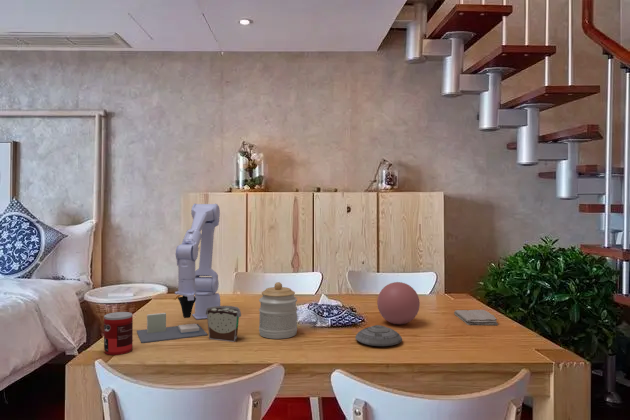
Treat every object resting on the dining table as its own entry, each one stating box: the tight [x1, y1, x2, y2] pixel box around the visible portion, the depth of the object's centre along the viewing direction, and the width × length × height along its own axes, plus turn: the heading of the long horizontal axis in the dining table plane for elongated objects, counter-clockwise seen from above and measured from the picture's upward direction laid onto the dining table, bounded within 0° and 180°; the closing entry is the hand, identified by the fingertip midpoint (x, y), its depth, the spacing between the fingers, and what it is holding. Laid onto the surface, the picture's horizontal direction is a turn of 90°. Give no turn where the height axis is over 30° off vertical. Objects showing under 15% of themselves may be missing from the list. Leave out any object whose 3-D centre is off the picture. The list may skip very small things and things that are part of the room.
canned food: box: [103, 311, 134, 356], centre depth 141 cm, size 8×8×11 cm
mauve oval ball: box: [377, 281, 421, 325], centre depth 177 cm, size 15×20×15 cm
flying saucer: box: [354, 324, 403, 347], centre depth 152 cm, size 15×15×6 cm
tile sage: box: [146, 312, 167, 333], centre depth 161 cm, size 6×2×6 cm, turn 116°
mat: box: [136, 323, 209, 344], centre depth 160 cm, size 21×15×1 cm
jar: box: [258, 281, 298, 340], centre depth 160 cm, size 13×13×18 cm
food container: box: [206, 305, 242, 343], centre depth 155 cm, size 12×6×10 cm, turn 71°
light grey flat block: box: [177, 323, 199, 334], centre depth 162 cm, size 6×2×6 cm
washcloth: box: [453, 309, 499, 326], centre depth 181 cm, size 12×18×3 cm, turn 1°
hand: (186, 317), depth 164 cm, fingers closed
